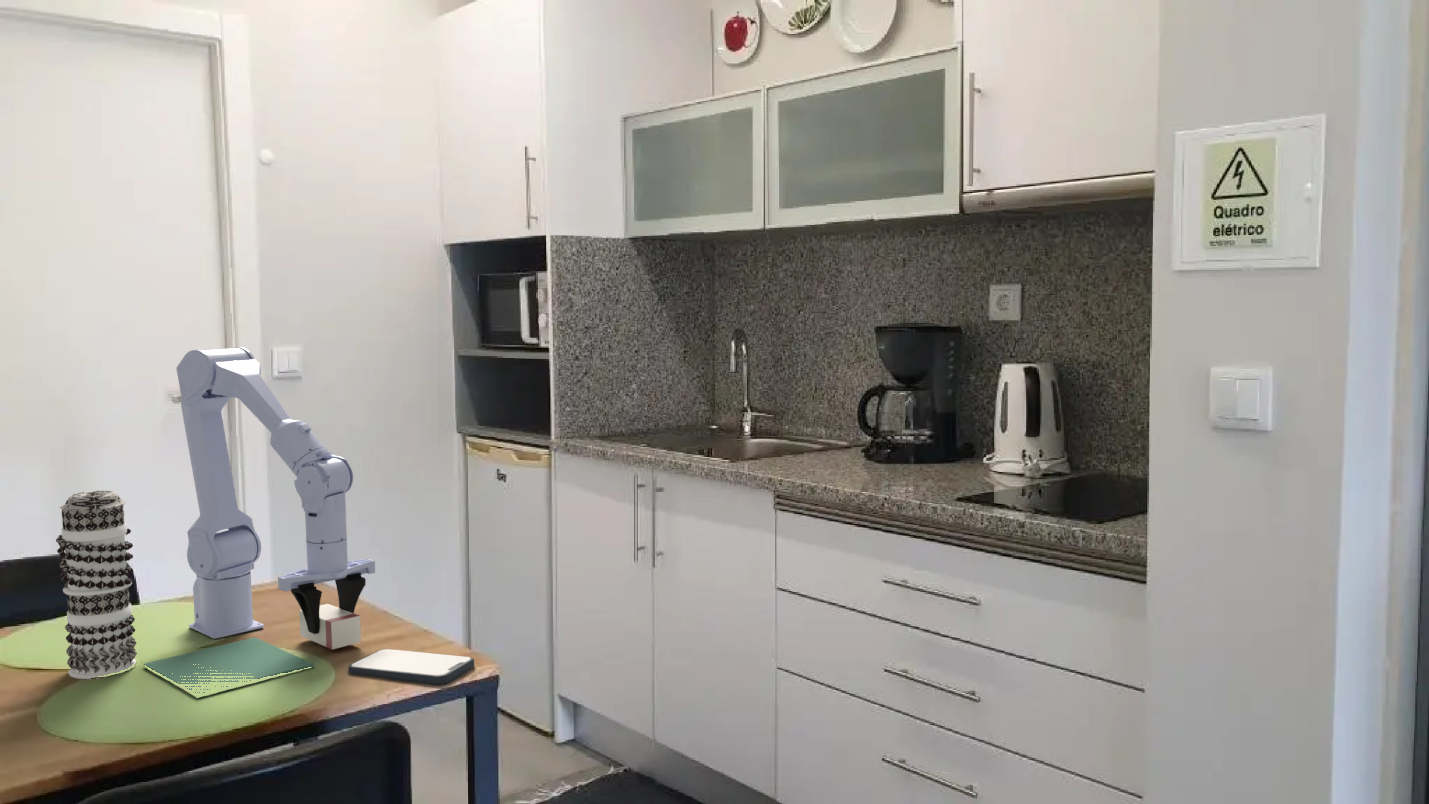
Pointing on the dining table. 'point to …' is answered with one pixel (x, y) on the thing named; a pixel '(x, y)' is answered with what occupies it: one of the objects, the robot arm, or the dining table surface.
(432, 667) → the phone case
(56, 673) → the dining table surface
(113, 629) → the decorative candle
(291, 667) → the card mat
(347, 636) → the card deck
